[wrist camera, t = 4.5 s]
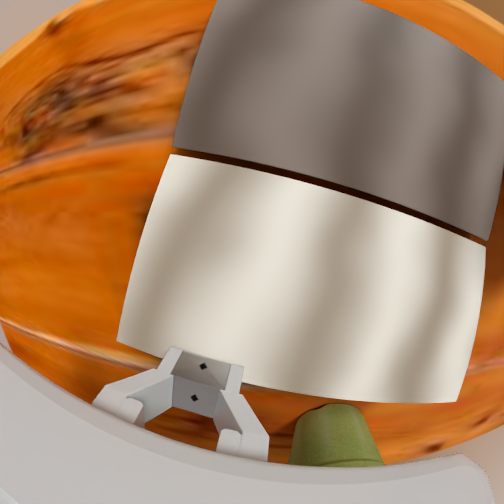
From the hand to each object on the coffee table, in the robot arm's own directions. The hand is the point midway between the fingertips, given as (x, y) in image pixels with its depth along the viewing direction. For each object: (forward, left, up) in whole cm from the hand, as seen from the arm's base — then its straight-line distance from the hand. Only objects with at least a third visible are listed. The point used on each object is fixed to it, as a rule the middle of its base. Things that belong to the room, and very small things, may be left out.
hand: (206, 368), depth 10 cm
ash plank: (-5, -2, -5) cm, 8 cm away
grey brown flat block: (-5, -14, -7) cm, 17 cm away
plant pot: (-11, +11, -8) cm, 17 cm away
